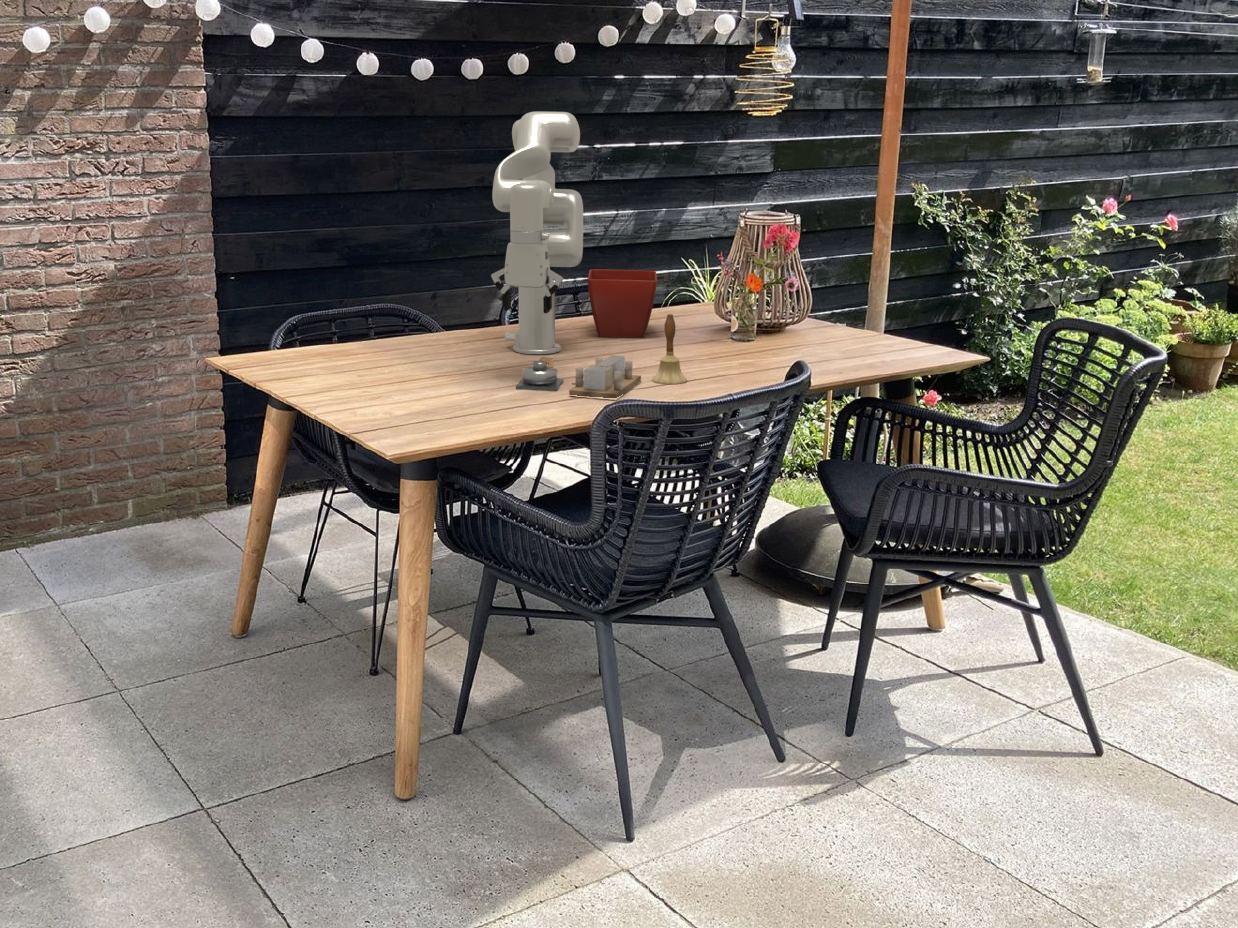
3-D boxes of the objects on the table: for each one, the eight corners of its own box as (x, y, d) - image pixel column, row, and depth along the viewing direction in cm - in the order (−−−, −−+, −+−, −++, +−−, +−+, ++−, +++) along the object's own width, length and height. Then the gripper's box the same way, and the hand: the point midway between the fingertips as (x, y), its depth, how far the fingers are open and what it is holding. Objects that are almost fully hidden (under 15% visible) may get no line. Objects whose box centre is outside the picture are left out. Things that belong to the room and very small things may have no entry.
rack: (569, 396, 281) (569, 372, 279) (596, 378, 299) (596, 355, 297) (615, 400, 278) (616, 376, 276) (640, 381, 296) (641, 359, 294)
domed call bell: (553, 385, 286) (553, 366, 285) (519, 383, 287) (519, 365, 286) (563, 372, 299) (563, 354, 298) (531, 370, 300) (531, 353, 299)
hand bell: (662, 385, 293) (664, 318, 288) (645, 378, 300) (647, 312, 295) (693, 382, 296) (695, 316, 292) (675, 375, 303) (677, 310, 299)
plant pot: (655, 341, 345) (657, 280, 340) (586, 339, 345) (587, 278, 340) (654, 328, 363) (656, 270, 359) (589, 327, 364) (589, 269, 359)
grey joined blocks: (608, 373, 297) (608, 354, 296) (628, 375, 296) (628, 356, 295) (583, 389, 281) (584, 369, 280) (605, 391, 280) (605, 371, 278)
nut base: (577, 391, 285) (577, 388, 285) (515, 389, 287) (515, 385, 286) (583, 382, 294) (583, 379, 294) (523, 380, 296) (523, 376, 296)
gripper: (567, 237, 291) (566, 310, 296) (496, 234, 294) (497, 306, 300) (558, 241, 284) (557, 316, 289) (485, 238, 287) (487, 311, 293)
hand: (527, 311), depth 294 cm, fingers open, 9 cm apart
